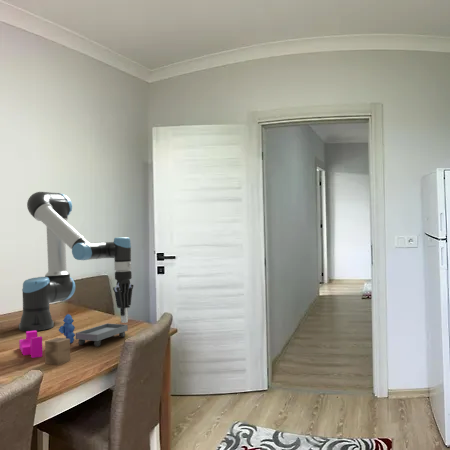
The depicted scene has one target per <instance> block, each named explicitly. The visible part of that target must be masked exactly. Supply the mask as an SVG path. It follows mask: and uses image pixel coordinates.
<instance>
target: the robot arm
mask: <svg viewBox="0 0 450 450" xmlns="http://www.w3.org/2000/svg"><path fill="white" fill-rule="evenodd" d="M27 199H28V200H27V202H26V204H27V205H26V206H27V210H28V212H29V214H30V215H31V217H33V218H34V219H35V220H36V221H38V222H42V224H43V225H45V226H46V242H47V243H46V245H47V248H46V249H47V272H46V273H45V275H44V276H38V277H31V278H28V279H25V280H24V281H23V283H22V289H21V291H22V314H21V319H20V322H19V323H18V330H19V331H21V332H26V331H35V330H36V331H37V332H38V331H44V330H49V329H51V328H54V325H55V324H54V320H53V319H52V318H53V317H52V314H51V311H50V304H53V303H57V302H64V301H66V300H67V301H68V300H69V299H71V298H72V297H73V295H74V294H75V292H76V282H75V280H74V278H72V277H71V273H70V272H69V271H68V269H67V250H66V248H67V247H68V248H69V249H71V253H72V257H73V258H74V259H75V260H77V261H87V260H89V261H90V260H99V259H114V279H115V281H116V284H115V285H116V286H115V287H113V288H112V290H113V292H114V298H115V302H116V307H117V308H118V309H120V312H119V313H120V323H125V324H126V323H128V322H129V315H128V314H129V313H128V312H129V310H128V309H129V308H131V305H132V299H133V298H132V295H133V289H134V284H131V279H132V278H133V277H132V275H133V274H132V271H131V270H132V245H131V244H132V243H131V238H130V237H127V236H125V237H124V236H123V237H122V236H121V237H114V239H113V241H99V242H98V241H97V242H90V241H89V240H88V239H86V238H85V237H84V236H83V235H82V234H80V233H79V232H78V230H76V229H75V228H74V227H73V226H72V225H71V224H70V223H68V222H67V221H68V219H69V215H70V214H71V213H72V209H73V203H72V200H71V199H70V197H69V196H67V195H66V194H64V193H61V192H50V191H49V192H48V191H36V192H34V193H32V194H31V195H30V196H29V198H27ZM66 245H67V247H66Z"/></svg>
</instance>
